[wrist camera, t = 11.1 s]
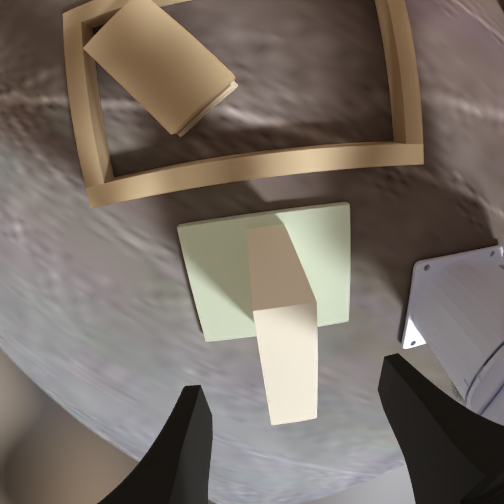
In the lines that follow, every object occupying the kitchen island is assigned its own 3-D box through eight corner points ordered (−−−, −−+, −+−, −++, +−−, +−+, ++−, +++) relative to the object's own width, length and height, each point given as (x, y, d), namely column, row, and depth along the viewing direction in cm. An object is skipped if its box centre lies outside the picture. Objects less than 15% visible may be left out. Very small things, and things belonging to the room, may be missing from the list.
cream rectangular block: (284, 224, 18) (316, 301, 11) (292, 322, 21) (316, 418, 13) (245, 229, 18) (252, 311, 11) (260, 327, 21) (271, 425, 13)
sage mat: (346, 201, 18) (349, 204, 17) (346, 316, 21) (348, 321, 21) (178, 224, 18) (176, 227, 18) (206, 336, 22) (205, 341, 21)
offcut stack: (155, 10, 13) (137, -11, 10) (237, 87, 15) (237, 79, 12) (105, 59, 14) (77, 49, 11) (184, 135, 16) (171, 140, 13)
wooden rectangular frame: (386, -18, 12) (397, -26, 11) (410, 159, 17) (423, 164, 16) (74, 19, 12) (62, 13, 11) (101, 200, 17) (90, 208, 16)
